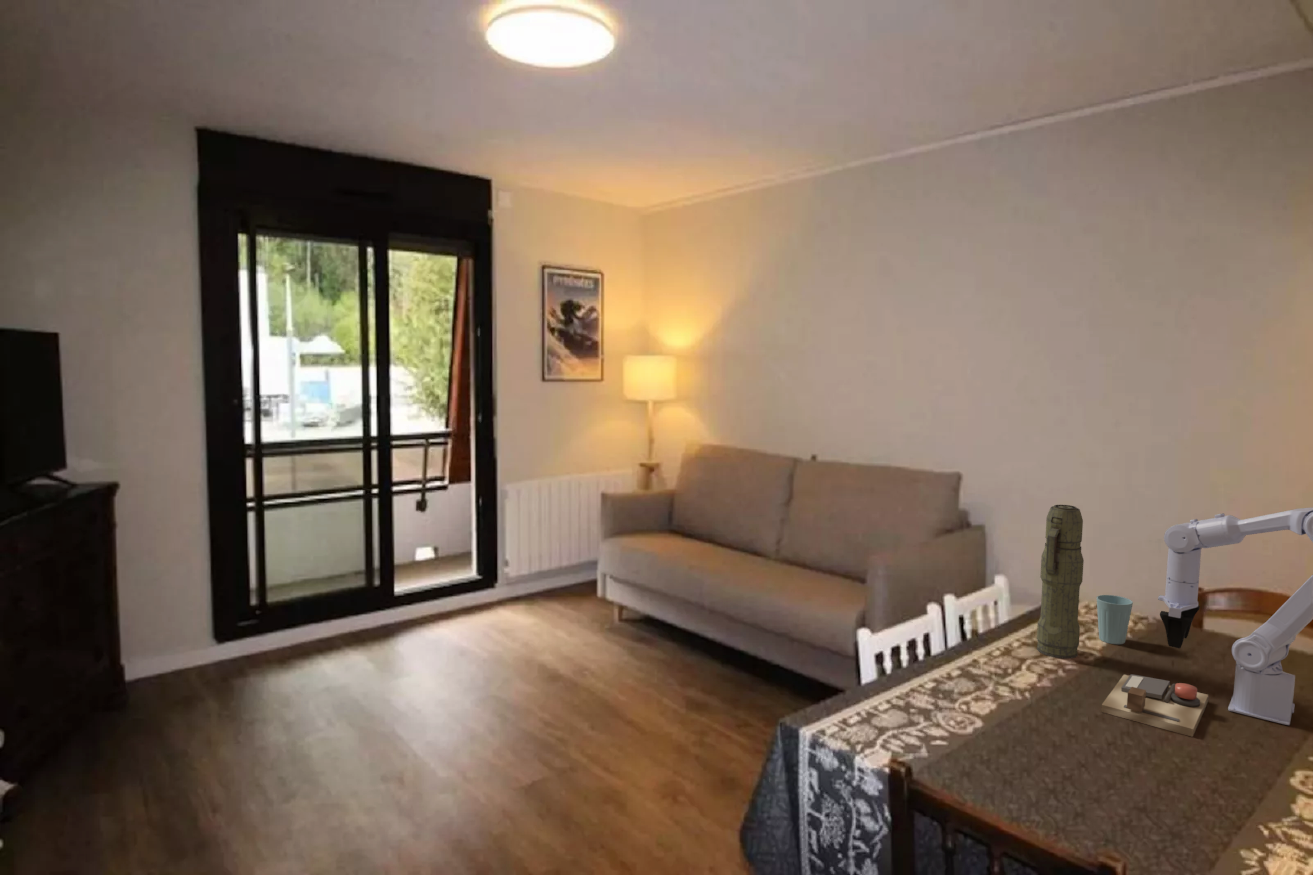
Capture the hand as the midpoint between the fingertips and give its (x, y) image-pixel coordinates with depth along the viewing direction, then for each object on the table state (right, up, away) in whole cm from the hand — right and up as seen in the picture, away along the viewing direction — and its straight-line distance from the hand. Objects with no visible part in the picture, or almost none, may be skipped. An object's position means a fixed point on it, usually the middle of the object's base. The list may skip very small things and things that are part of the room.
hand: (1177, 641), depth 165 cm
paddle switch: (-10, -8, -5) cm, 14 cm away
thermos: (-16, -8, +19) cm, 26 cm away
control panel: (-11, -11, -10) cm, 18 cm away
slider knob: (-18, -10, -14) cm, 25 cm away
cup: (+1, -7, +26) cm, 27 cm away
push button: (-6, -8, -11) cm, 15 cm away
